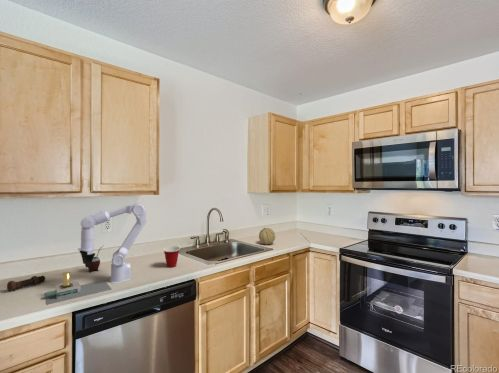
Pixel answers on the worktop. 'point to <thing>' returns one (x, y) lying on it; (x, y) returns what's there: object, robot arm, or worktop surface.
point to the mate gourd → (95, 263)
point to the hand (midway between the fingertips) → (86, 265)
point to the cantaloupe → (267, 236)
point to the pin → (66, 279)
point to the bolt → (24, 283)
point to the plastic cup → (171, 255)
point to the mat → (85, 290)
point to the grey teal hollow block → (66, 290)
